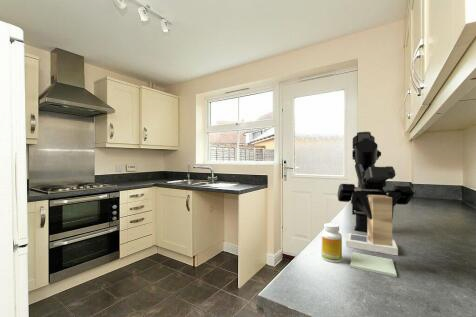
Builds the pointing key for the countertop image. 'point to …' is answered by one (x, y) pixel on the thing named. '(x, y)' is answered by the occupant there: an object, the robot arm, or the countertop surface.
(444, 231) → the countertop surface
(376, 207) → the oak post
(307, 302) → the countertop surface
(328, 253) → the supplement bottle
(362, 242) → the label panel
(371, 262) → the mat
